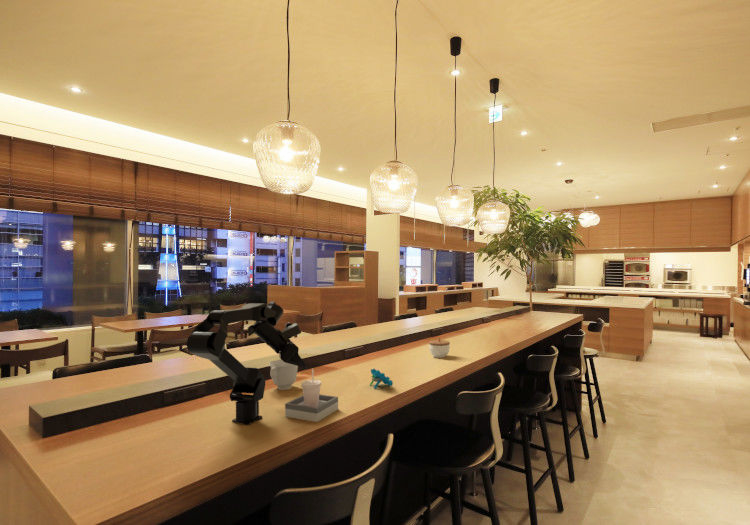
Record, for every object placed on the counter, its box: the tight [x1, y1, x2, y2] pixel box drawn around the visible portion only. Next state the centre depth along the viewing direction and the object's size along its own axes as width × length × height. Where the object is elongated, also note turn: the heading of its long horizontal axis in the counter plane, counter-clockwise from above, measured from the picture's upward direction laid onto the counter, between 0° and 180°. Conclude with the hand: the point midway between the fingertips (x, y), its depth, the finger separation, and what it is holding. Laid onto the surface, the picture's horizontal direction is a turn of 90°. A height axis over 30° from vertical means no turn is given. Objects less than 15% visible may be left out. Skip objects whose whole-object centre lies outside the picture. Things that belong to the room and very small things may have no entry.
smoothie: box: [301, 368, 322, 407], centre depth 125 cm, size 6×6×14 cm
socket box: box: [284, 394, 339, 423], centre depth 125 cm, size 12×12×4 cm
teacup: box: [268, 359, 299, 391], centre depth 151 cm, size 12×15×10 cm
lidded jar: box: [428, 338, 451, 359], centre depth 203 cm, size 11×11×9 cm
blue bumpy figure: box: [369, 368, 394, 389], centre depth 151 cm, size 11×6×10 cm
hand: (302, 363), depth 134 cm, fingers open, 9 cm apart
